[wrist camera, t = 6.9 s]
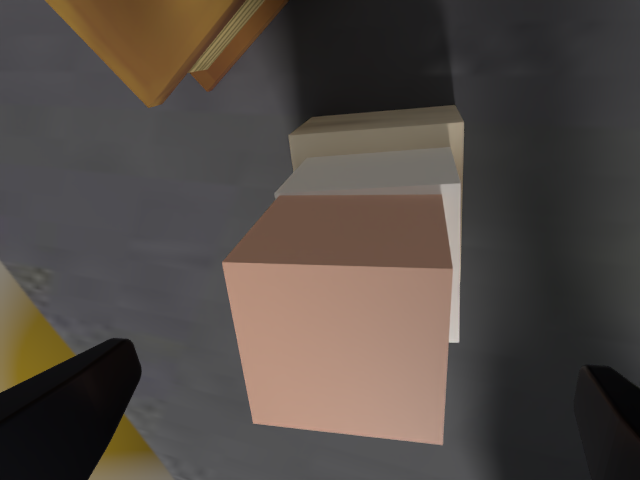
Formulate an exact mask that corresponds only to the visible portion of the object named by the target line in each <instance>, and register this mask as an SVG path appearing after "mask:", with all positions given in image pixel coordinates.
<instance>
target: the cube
mask: <svg viewBox="0 0 640 480" xmlns="http://www.w3.org/2000/svg"><path fill="white" fill-rule="evenodd" d="M222 264H223V270H224V275H225V280H226V285H227V290H228V295H229V300H230V306H231V311H232V316H233V321H234V326H235V331H236V337H237V342H238V347H239V352H240V357H241V362H242V367H243V373H244V378H245V383H246V388H247V393H248V398H249V404H250V409H251V414H252V419H253V424H262V425H271V426H280V427H288V428H297V429H306V430H315V431H323V432H332V433H341V434H350V435H359V436H367V437H376V438H385V439H394V440H403V441H411V442H420V443H429V444H438V445H443V430H444V413H445V396H446V379H447V362H448V345H449V328H450V311H451V294H452V277H453V266H452V259H451V252H450V246H449V239H448V232H447V226H446V219H445V212H444V205H443V199H442V194H427V195H279V196H278V198H277V199H276V200H275V201H274V202H273V203H272V205H271V206H270V207H269V208H268V209H267V210H266V212H265V213H264V214H263V215H262V216H261V217H260V219H259V220H258V221H257V222H256V223H255V224H254V226H253V227H252V228H251V229H250V230H249V231H248V233H247V234H246V235H245V236H244V237H243V238H242V240H241V241H240V242H239V243H238V244H237V245H236V247H235V248H234V249H233V250H232V251H231V252H230V254H229V255H228V256H227V257H226V258H225V259H224V261H223V262H222Z"/></svg>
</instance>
